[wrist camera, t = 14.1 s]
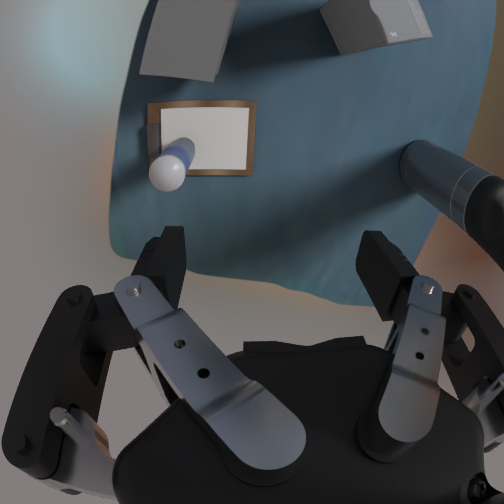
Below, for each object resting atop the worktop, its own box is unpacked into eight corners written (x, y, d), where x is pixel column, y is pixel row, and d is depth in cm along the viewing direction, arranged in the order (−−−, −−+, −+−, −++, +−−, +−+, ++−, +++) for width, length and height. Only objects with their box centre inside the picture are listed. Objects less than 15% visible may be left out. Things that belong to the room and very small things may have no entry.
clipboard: (256, 101, 36) (257, 101, 34) (251, 174, 42) (252, 177, 40) (149, 102, 34) (145, 103, 33) (151, 174, 40) (148, 178, 39)
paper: (248, 107, 36) (249, 108, 35) (245, 169, 40) (245, 169, 40) (161, 108, 34) (160, 109, 34) (163, 169, 39) (162, 170, 39)
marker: (196, 135, 37) (184, 155, 27) (196, 161, 39) (185, 191, 29) (169, 136, 36) (147, 157, 26) (170, 162, 39) (150, 192, 28)
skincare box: (374, 48, 31) (440, 41, 18) (334, 57, 32) (389, 48, 19) (354, 0, 27) (411, -27, 14) (311, 7, 28) (356, -27, 15)
